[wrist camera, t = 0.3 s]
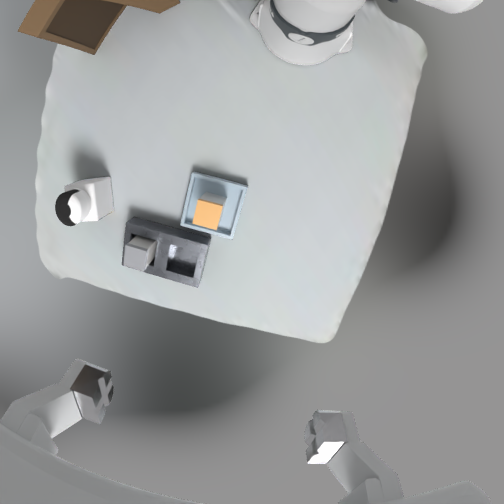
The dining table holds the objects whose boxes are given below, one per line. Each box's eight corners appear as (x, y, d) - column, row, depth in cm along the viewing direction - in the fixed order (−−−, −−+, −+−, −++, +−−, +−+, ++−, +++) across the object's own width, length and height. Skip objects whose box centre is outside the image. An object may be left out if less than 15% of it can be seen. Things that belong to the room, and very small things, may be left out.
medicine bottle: (86, 212, 55) (54, 231, 44) (82, 179, 52) (48, 191, 41) (114, 211, 55) (84, 230, 44) (111, 176, 52) (78, 188, 41)
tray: (194, 171, 52) (192, 172, 50) (247, 185, 53) (247, 187, 51) (182, 222, 56) (180, 225, 54) (233, 236, 56) (232, 239, 55)
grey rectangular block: (139, 232, 56) (125, 245, 49) (158, 237, 56) (146, 251, 49) (137, 250, 57) (123, 265, 51) (155, 256, 57) (143, 271, 51)
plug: (205, 191, 53) (197, 199, 46) (227, 197, 53) (222, 206, 47) (200, 212, 54) (192, 223, 48) (221, 218, 55) (216, 230, 48)
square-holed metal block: (129, 256, 59) (121, 264, 55) (134, 216, 55) (126, 222, 52) (201, 278, 60) (197, 287, 56) (211, 237, 57) (207, 245, 53)
